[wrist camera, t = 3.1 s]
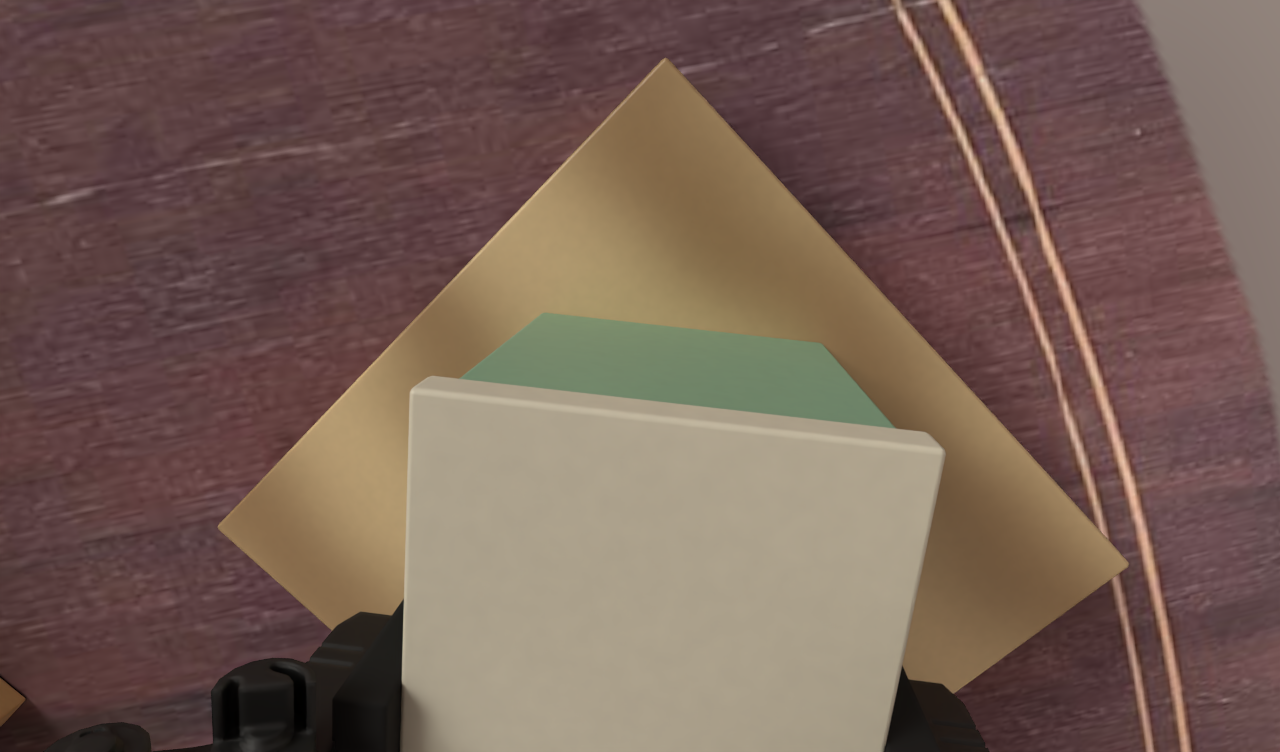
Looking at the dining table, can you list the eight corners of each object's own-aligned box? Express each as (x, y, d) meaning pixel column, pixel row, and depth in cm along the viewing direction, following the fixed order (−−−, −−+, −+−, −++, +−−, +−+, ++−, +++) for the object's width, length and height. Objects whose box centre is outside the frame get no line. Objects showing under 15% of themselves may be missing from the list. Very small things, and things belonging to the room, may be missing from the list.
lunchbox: (533, 301, 18) (407, 387, 10) (833, 335, 17) (949, 449, 9) (505, 726, 20) (389, 1056, 12) (764, 760, 20) (810, 1121, 12)
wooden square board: (669, 76, 19) (665, 55, 16) (1071, 514, 21) (1132, 565, 18) (277, 484, 22) (214, 528, 19) (654, 829, 24) (649, 916, 21)
